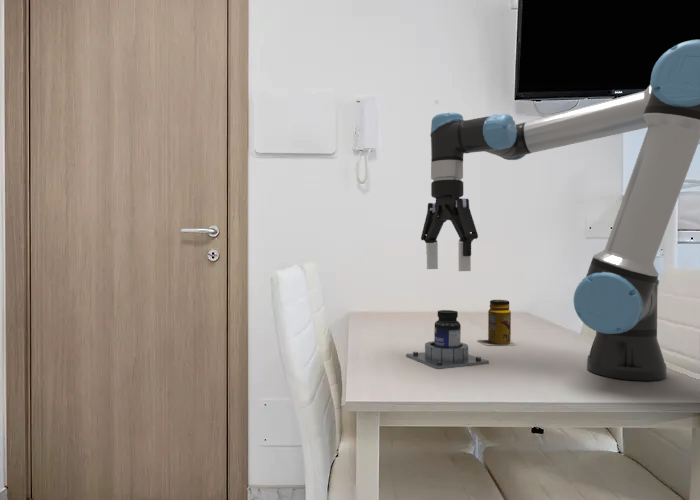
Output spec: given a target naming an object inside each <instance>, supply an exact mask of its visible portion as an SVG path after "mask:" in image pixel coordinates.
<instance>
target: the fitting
mask: <svg viewBox="0 0 700 500" xmlns="http://www.w3.org/2000/svg"><path fill="white" fill-rule="evenodd" d="M405 356H406V358H409V359H412V360H413V361H417V362H420V363H422V364H424V365H426V366H429V367H431V368H434V369H437V370H439V369H440V370H441V369H448V368H458V367H469V366H479V365H487V364H490V361H489V360H487V359H484V358H482V357H480V356H475V355H471V354H469V345H468V344H467V343H464V342H462V341H460V347H458V348H441V347H434V340H432V341H431V340H430V341H428V342H425V343H424V351H423V352H418V351H413V352H412V353H406V354H405Z"/></svg>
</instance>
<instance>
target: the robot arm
mask: <svg viewBox="0 0 700 500" xmlns="http://www.w3.org/2000/svg"><path fill="white" fill-rule="evenodd" d="M649 83H650V84H649V85H648V86H647V88H646V89H645V90H643V91H639V92H635V93H631V94H628V95H624V96H620V97H616V98H612V99H608V100H605V101H601V102H597V103H593V104H589V105H586V106H582V107H577V108H575V109H570V110H567V111H562V112H558V113H555V114H551V115H548V116H543V117H540V118H536V119H532V120H528V121H526V122H520V123H517V124H516V122H515V120H514V118H513V116H511V115H510V114H508V113H505V114H504V113H503V114H492V115H489V116H484V117H477V118H472V119H467V120H464V117H463V115H462V114H460V113H458V112H442V113H437V114H436V115H435V116H433V117H432V119H431V126H430V127H431V128H430V135H429V136H430V144H431V145H430V146H431V147H430V148H431V149H430V151H431V153H430V155H431V157H430V158H431V159H430V161H431V162H430V179H431V180H432V182H431V184H430V186H431V187H430V188H431V189H430V191H431V193H430V195H431V197H432V198H433V199H434V198H435V202H428V203H427V210H426V215H425V216H426V217H425V221H424V223H423V229H422V232H421V237H420V239H421V241H424V242H425V245H426V247H425V248H426V269H427V270H438V269H439V267H438V265H439V260H438V259H439V257H438V255H439V252H438V251H439V249H438V247H439V245H438V240H437V239H438V237H439V235H440V232H441V230H442V227H443V226H444V223H446V222H447V221H450V222H451V223H452V225H453V226H452V227H454V230H455V231H456V233H457V236H458V238H459V239H458V245H457V246H458V272H471V268H472V267H471V261H472V260H471V256H472V243H473V241H474V240H477V239H478V237H479V235H478V232H477V228H476V224H475V221H474V218H473V215H472V212H471V209H470V200H469V198H462V197H463V196H464V181H462V179H464V154H470V153H481V152H486V153H488V154H492V155H495V156H497V157H500V158H502V159H504V160H508V161H518V160H521V159H523V158H524V157H526V156H527V155H529V154H534V153H537V152H542V151H547V150H551V149H555V148H560V147H566V146H570V145H575V144H578V143H584V142H588V141H592V140H596V139H601V138H602V139H603V138H607V137H610V136H615V135H620V134H624V133H629V132H634V131H639V130H642V129H647V130H646V133H645V135H644V138H643V142H642V145H641V147H640V149H639V153H638V154H637V158H636V160H635V164H634V167H633V169H632V172H631V174H630V177H629V181H628V184H627V187H626V189H625V191H624V194H623V198H622V199H621V200H622V201H621V203H620V205H619V209H618V211H617V214H616V217H615V220H614V222H613V225H612V228H611V230H610V234H609V237H608V239H607V243H606V246H605V248H604V249H603V250H602V251H600V252H598V253H595V254H593V257H592V258H591V259H592V260H591V262H590V264H589V267H588V270H587V273H586V276H585V277H583V279H582V280H581V281H580V282H579V283H578V285H577V286H576V289H575V290H574V294H573V307H574V310H575V314H576V315H577V317H578V319H579V320H580V321H581V322H582V323H583V324H584V325H585V326H586V327H587V328H589V329H591V330H593V331H595V337H594V339H593V342H592V344H591V347H590V351H589V355H587V359H586V369H587V370H588V371H589V372H591V373H593V374H596V375H600V376H602V377H608V378H613V379H620V380H625V381H642V382H643V381H647V382H648V381H659V380H663V379H664V380H665V379H666V378H667V376H668V375H667V370H668V369H667V364H666V362H665V359H664V355H663V353H662V349H661V347H660V343H659V341H658V286H659V283H660V282H659V281H660V280H659V275H660V274H659V272H658V271H657V269H656V266H655V265H654V264H655V263H654V262H655V259H656V257H657V254H658V251H659V249H660V246H661V243H662V241H663V238H664V236H665V233H666V230H667V228H668V225H669V222H670V220H671V217H672V215H673V213H674V212H673V211H674V209H675V206H676V203H677V201H678V198H679V197H680V196H679V195H680V193H681V191H682V187H683V185H684V182H685V179H686V178H687V175H688V173H689V169H690V167H691V164H692V163H693V162H692V161H693V159H694V157H695V153H696V150H697V148H698V145H699V143H700V39H691V40H687V41H683V42H680V43H678V44H676V45H673V47H671V48H669V49H667V51H665V52H664V53H662V55H661V56H660V57H659V58H658V60H657V61H656V62H655V64H654V65H653V68H652V71H651V75H650V81H649Z"/></svg>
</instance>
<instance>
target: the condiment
mask: <svg viewBox="0 0 700 500" xmlns="http://www.w3.org/2000/svg"><path fill="white" fill-rule="evenodd" d="M510 309H511V308H510V301H509V300H507V299H491V300H490V301H489V309H488V310H487V311H488V314H487V315H488V316H487V318H488V319H487V320H488V321H487V322H488V325H487V327H488V333H487V338H488V339H477V342H478V343H480V344H482V345H484V346H517V344H516V343H512V342H511V341H512V340H511V337H512V336H511V334H512V332H511V331H512V330H511V328H512V327H511V326H512V325H511V321H512V312H511V310H510Z"/></svg>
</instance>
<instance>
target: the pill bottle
mask: <svg viewBox="0 0 700 500" xmlns="http://www.w3.org/2000/svg"><path fill="white" fill-rule="evenodd" d="M458 315H459V313H458V311H457V310H452V309H451V310H450V309H449V310H447V309H439V310H437V318H438V320H436V321H435V322H434V334H433V335H434V336H433V337H434V340H433V341H434V347H441V348H458V347H460V342H461V330H462V329H461V328H462V327H461V323H460V322H459V320H457V318H458Z"/></svg>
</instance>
